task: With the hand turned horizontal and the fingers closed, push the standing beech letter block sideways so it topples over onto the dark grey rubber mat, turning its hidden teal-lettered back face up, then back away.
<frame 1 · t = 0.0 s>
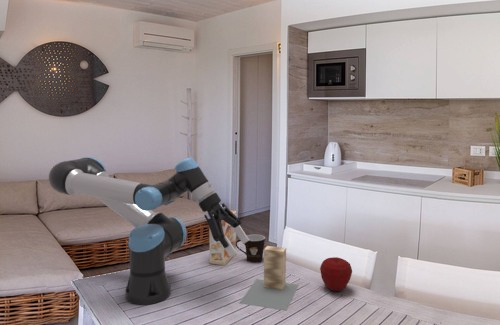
hand: (240, 248, 143), 15 cm above the table, tool tilted 35°, fingers open, 13 cm apart
mat: (270, 294, 141), on the table
coffeecake box: (223, 258, 175), on the table
letter block: (274, 286, 147), resting on mat
coffee mug: (251, 260, 174), on the table
apple: (335, 289, 146), on the table
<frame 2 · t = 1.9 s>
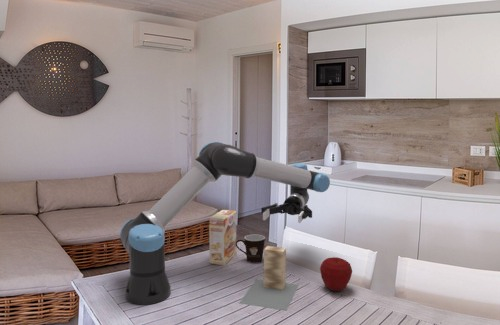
hand: (281, 218, 152), 23 cm above the table, tool horizontal, fingers open, 13 cm apart
nothing on the table moved.
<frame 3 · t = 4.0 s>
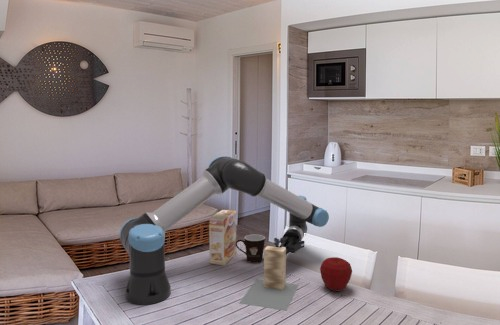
hand: (279, 256, 153), 9 cm above the table, tool horizontal, fingers closed
nothing on the table moved.
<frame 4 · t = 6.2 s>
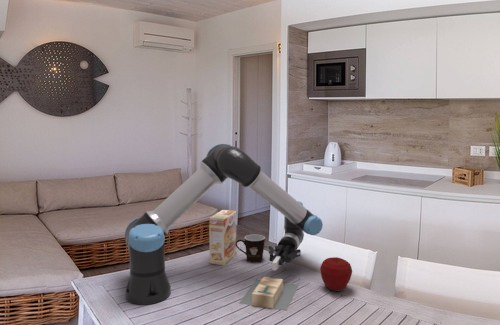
hand: (274, 266, 143), 9 cm above the table, tool horizontal, fingers closed
letter block: (273, 283, 145), point 2 cm above the table, tilted 90°, touching mat
everything else where it was.
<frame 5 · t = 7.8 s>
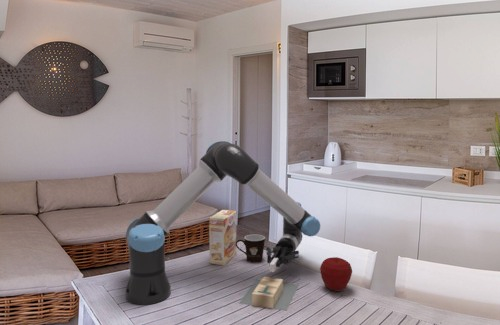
hand: (271, 268, 141), 9 cm above the table, tool horizontal, fingers closed
nothing on the table moved.
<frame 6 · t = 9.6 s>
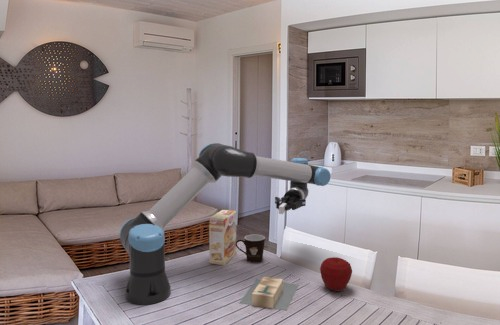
hand: (280, 210, 150), 27 cm above the table, tool horizontal, fingers closed
nothing on the table moved.
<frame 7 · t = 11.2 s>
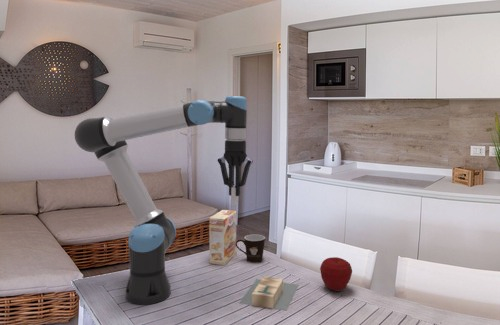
hand: (234, 204, 149), 29 cm above the table, tool pointing down, fingers closed
nothing on the table moved.
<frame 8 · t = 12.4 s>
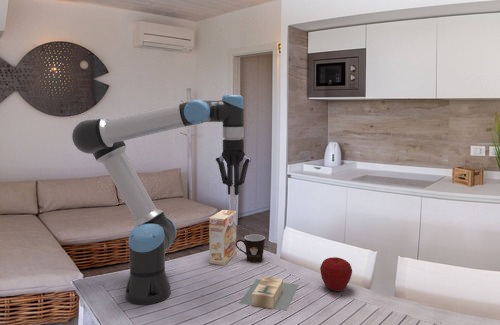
hand: (233, 203, 149), 29 cm above the table, tool pointing down, fingers closed
nothing on the table moved.
at the end: letter block tilted 90°; letter block inside the target area (2.9 cm from its centre), point 2.4 cm above the table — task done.
